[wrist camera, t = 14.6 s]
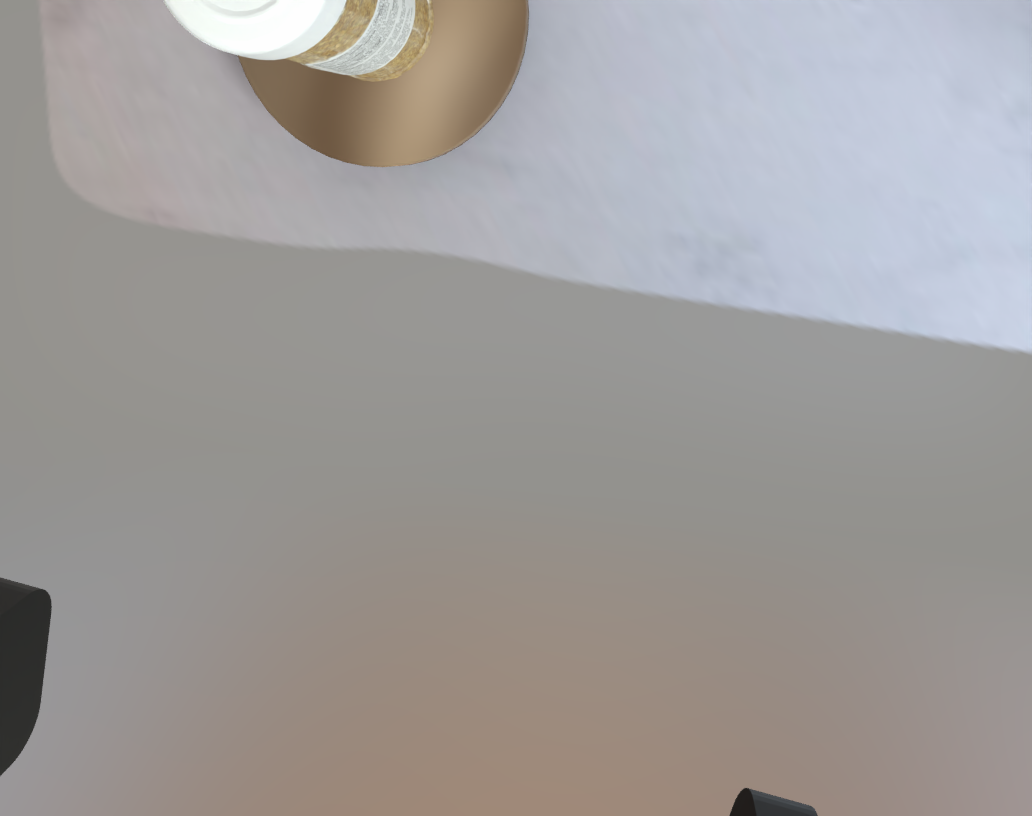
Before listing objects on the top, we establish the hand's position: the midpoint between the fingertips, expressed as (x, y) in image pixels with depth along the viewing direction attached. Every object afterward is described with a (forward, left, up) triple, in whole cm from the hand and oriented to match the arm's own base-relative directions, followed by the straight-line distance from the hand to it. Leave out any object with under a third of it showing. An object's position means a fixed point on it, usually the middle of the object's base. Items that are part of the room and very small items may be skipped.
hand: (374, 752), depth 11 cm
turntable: (+9, -10, -29) cm, 32 cm away
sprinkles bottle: (+9, -9, -28) cm, 31 cm away
